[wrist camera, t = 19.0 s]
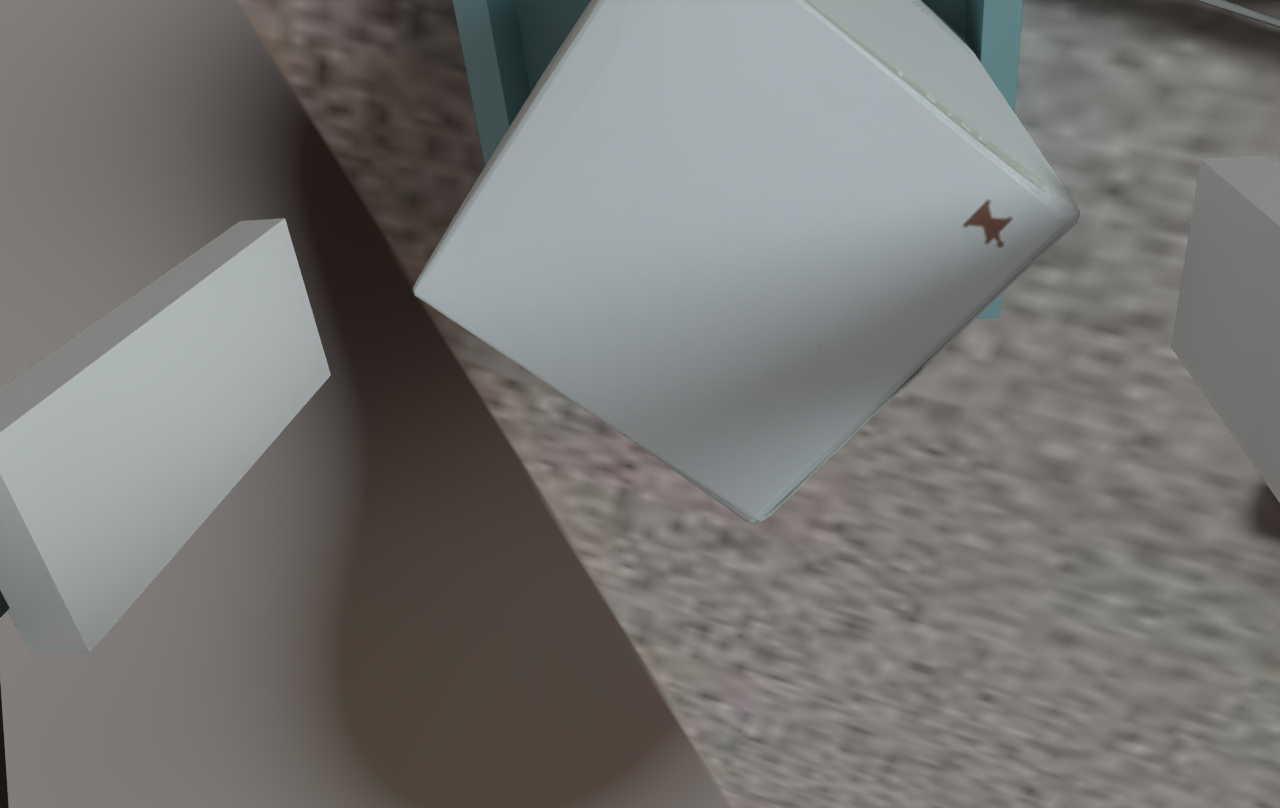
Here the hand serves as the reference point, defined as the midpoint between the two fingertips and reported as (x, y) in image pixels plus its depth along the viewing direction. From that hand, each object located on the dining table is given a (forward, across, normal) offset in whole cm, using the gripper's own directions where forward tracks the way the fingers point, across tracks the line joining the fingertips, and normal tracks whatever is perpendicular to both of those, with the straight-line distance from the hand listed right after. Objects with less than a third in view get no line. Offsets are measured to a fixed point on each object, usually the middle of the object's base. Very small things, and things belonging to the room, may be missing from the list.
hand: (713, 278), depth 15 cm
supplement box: (+13, 0, 0) cm, 13 cm away
